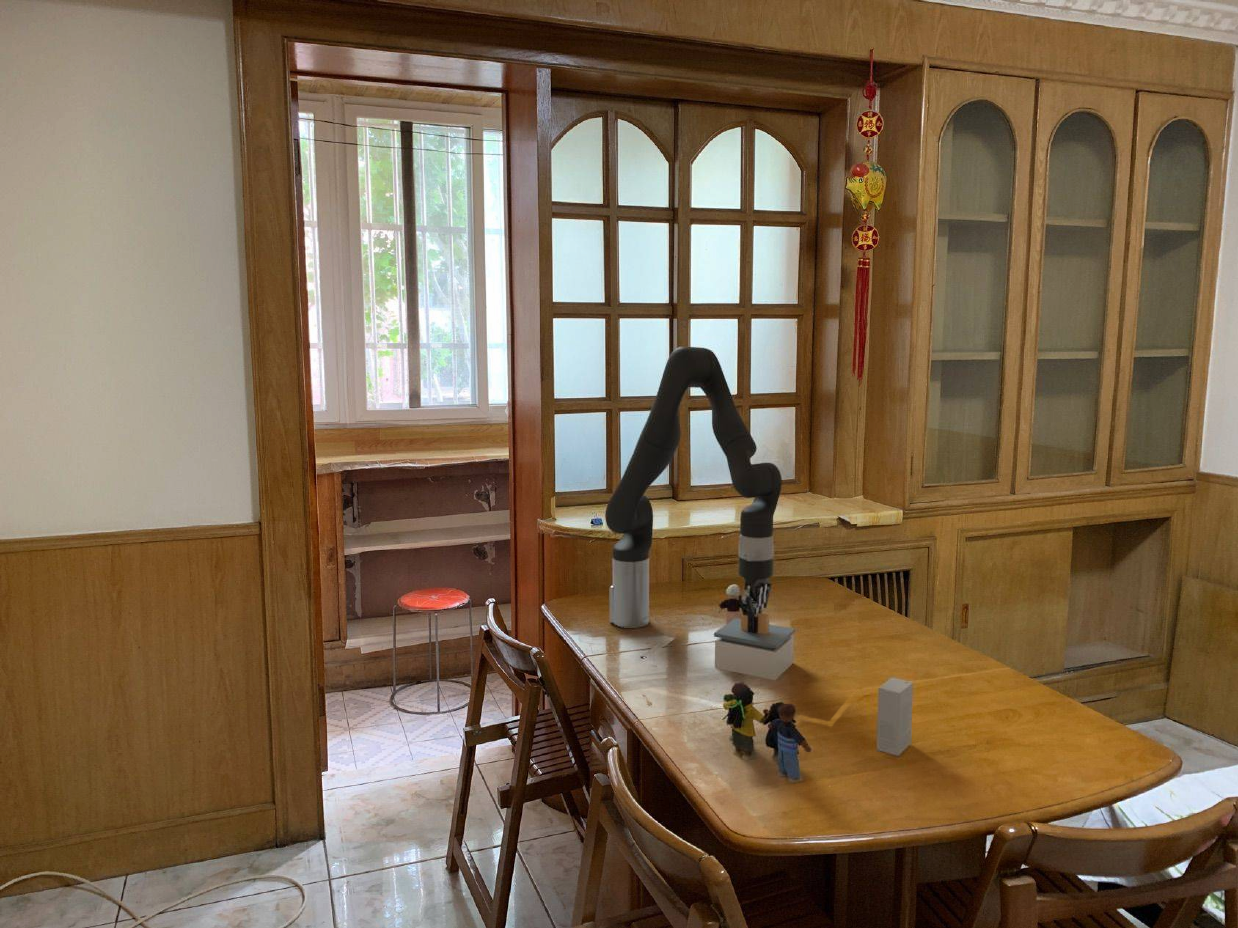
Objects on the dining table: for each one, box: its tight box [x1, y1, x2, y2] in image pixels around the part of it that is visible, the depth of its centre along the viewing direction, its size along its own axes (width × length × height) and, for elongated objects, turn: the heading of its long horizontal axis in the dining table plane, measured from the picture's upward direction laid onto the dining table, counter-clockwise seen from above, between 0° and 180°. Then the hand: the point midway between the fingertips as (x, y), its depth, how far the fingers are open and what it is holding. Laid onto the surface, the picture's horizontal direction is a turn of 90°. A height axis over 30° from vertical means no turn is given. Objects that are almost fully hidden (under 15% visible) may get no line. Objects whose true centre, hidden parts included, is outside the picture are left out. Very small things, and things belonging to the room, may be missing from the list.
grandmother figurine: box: [716, 583, 742, 625], centre depth 219 cm, size 8×4×13 cm, turn 84°
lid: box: [713, 611, 796, 650], centre depth 197 cm, size 14×11×6 cm
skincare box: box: [876, 677, 914, 757], centre depth 161 cm, size 6×4×12 cm
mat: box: [640, 636, 676, 659], centre depth 207 cm, size 16×14×1 cm
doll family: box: [721, 682, 812, 784], centre depth 157 cm, size 23×9×13 cm, turn 45°
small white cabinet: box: [714, 635, 795, 681], centre depth 198 cm, size 14×11×7 cm
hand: (754, 630), depth 197 cm, fingers closed on lid, 1 cm apart
